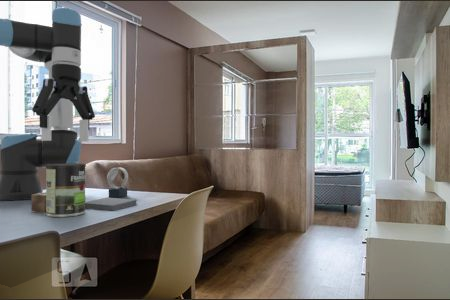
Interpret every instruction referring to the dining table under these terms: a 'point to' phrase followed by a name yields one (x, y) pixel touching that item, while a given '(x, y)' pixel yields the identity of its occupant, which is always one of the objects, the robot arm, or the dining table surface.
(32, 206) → the marked cube
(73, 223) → the dining table surface
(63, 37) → the robot arm
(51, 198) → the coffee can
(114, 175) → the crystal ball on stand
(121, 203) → the mat
